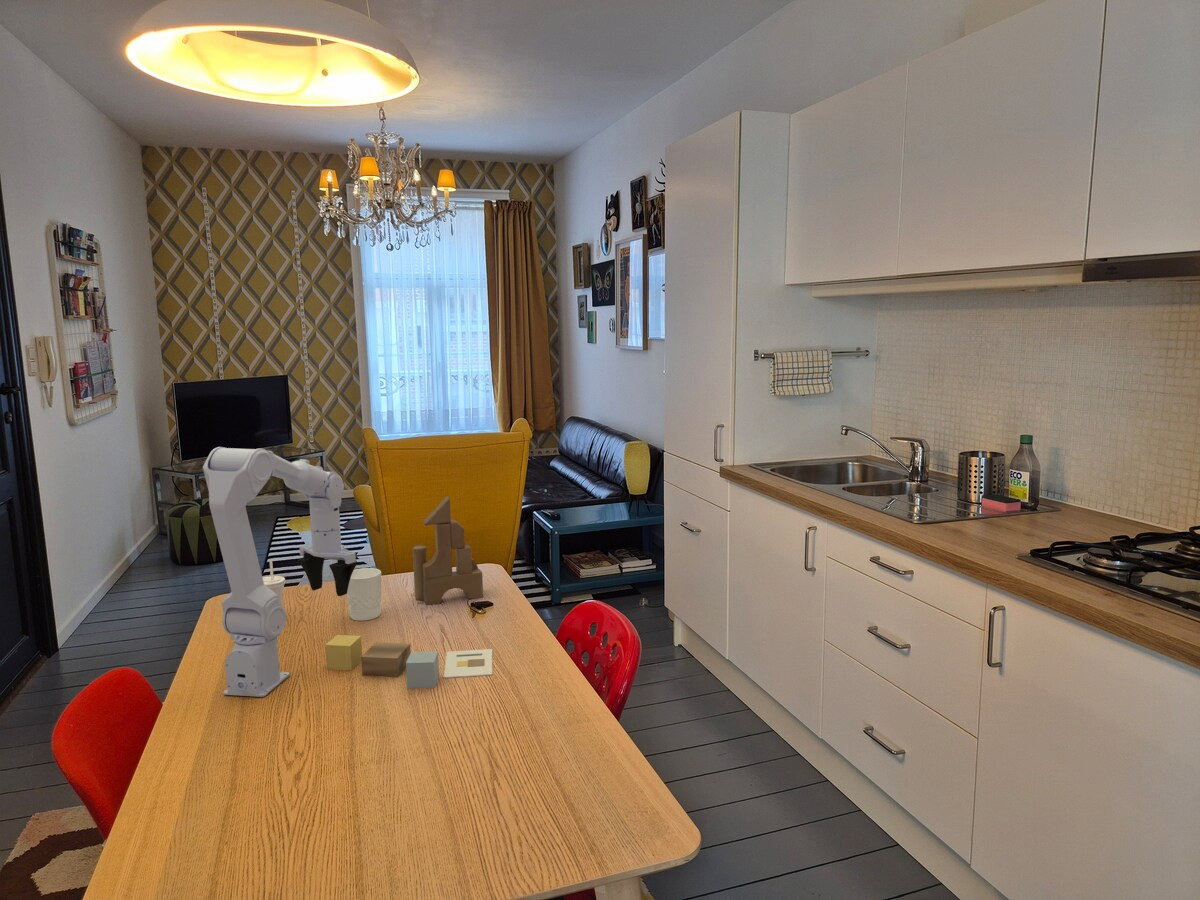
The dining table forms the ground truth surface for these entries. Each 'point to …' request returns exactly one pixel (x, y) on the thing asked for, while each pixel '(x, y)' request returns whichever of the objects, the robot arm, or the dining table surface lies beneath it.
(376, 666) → the walnut base
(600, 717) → the dining table surface
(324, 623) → the dining table surface
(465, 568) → the wooden toy
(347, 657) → the mustard brick
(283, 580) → the smoothie
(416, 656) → the slate brick
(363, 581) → the white cup
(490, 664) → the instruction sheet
